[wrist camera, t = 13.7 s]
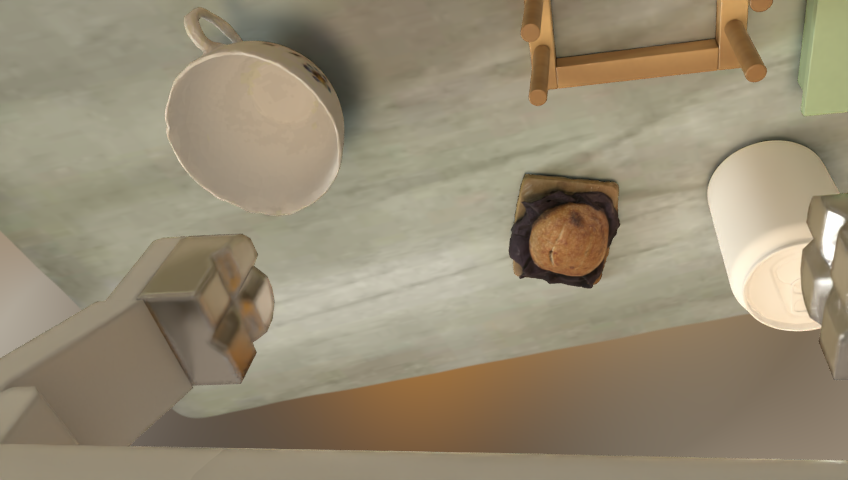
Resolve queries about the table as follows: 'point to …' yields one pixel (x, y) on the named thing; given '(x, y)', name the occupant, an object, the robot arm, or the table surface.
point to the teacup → (254, 122)
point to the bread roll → (563, 229)
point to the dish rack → (640, 52)
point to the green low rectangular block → (824, 58)
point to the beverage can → (767, 226)
